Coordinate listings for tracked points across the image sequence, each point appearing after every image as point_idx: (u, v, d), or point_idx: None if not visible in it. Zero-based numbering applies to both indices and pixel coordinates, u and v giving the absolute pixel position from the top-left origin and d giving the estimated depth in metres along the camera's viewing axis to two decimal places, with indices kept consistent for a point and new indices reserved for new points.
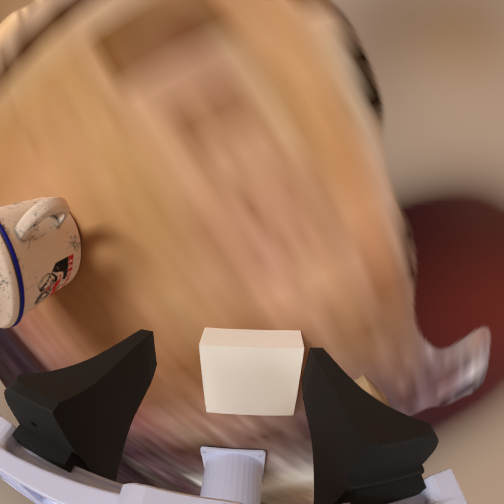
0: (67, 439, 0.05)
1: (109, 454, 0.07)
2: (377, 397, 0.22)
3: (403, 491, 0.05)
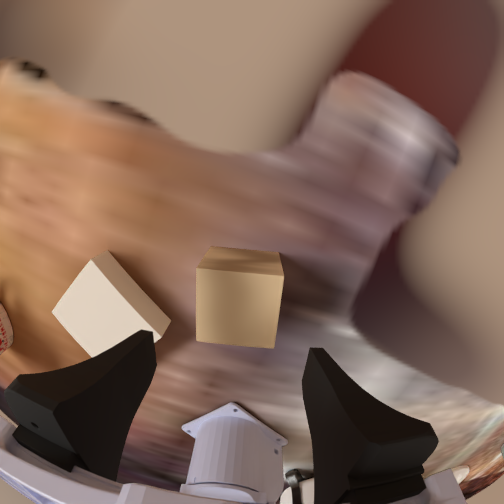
0: (67, 439, 0.05)
1: (109, 454, 0.07)
2: (225, 258, 0.18)
3: (403, 491, 0.05)
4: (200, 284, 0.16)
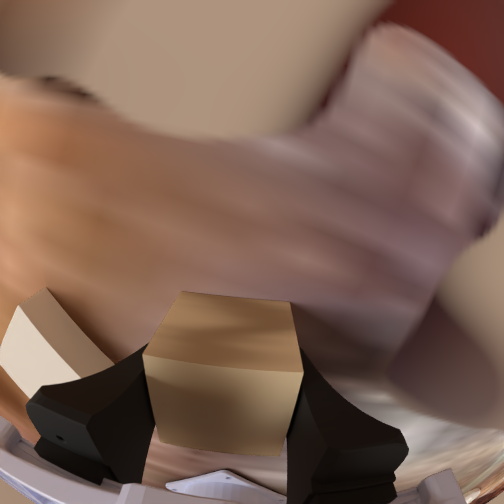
0: (98, 452, 0.05)
1: (135, 462, 0.07)
2: (199, 324, 0.10)
3: (372, 499, 0.05)
4: (153, 378, 0.08)
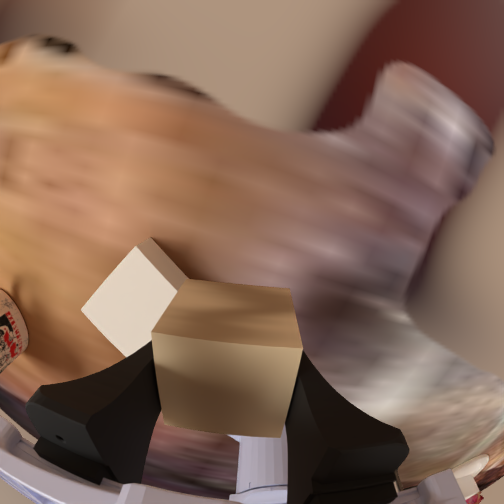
0: (98, 452, 0.05)
1: (134, 462, 0.07)
2: (204, 306, 0.11)
3: (372, 499, 0.05)
4: (160, 356, 0.09)
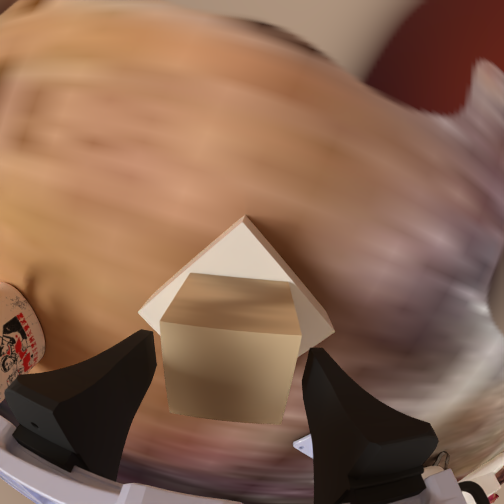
0: (66, 439, 0.05)
1: (109, 454, 0.07)
2: (208, 298, 0.12)
3: (403, 491, 0.05)
4: (167, 344, 0.10)
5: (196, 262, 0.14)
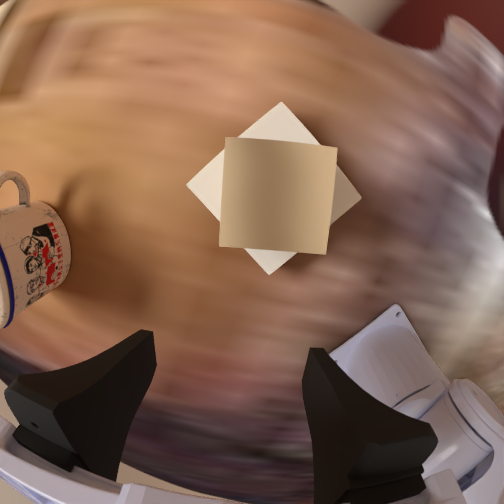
0: (66, 439, 0.05)
1: (109, 454, 0.07)
2: None
3: (403, 491, 0.05)
4: (229, 159, 0.12)
5: (244, 133, 0.16)
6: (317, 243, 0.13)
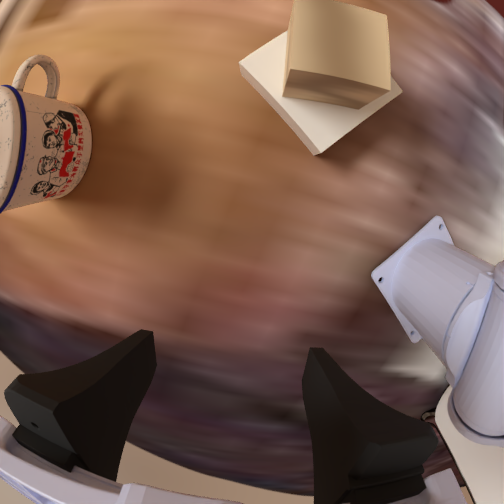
0: (67, 439, 0.05)
1: (109, 454, 0.07)
2: None
3: (403, 491, 0.05)
4: (299, 7, 0.10)
5: None
6: (382, 79, 0.11)
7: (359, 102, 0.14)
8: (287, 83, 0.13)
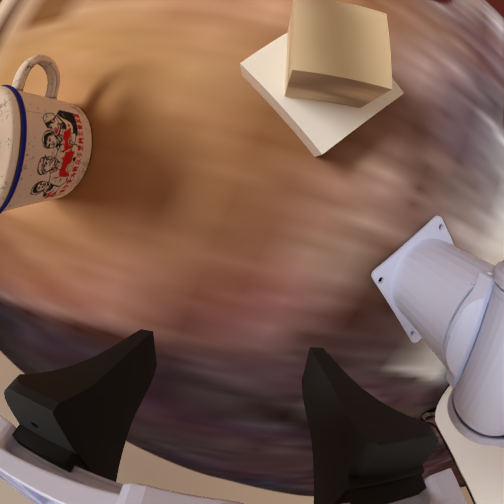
0: (67, 439, 0.05)
1: (109, 454, 0.07)
2: None
3: (403, 491, 0.05)
4: (299, 7, 0.10)
5: None
6: (383, 78, 0.11)
7: (361, 101, 0.14)
8: (289, 83, 0.13)
